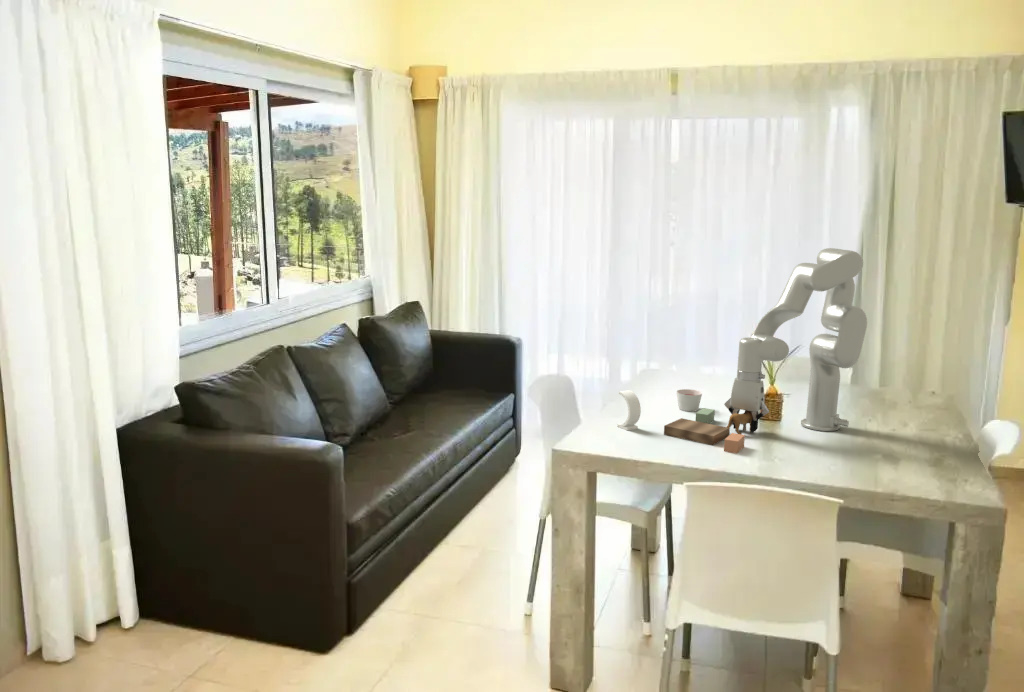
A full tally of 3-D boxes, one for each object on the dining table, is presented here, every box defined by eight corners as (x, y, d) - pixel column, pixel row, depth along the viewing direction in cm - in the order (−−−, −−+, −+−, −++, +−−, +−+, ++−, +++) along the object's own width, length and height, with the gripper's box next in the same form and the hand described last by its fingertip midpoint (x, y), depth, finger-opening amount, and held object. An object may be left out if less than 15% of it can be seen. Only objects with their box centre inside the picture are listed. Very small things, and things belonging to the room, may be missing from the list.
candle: (684, 404, 313) (686, 388, 312) (706, 409, 306) (707, 392, 305) (670, 408, 306) (671, 391, 305) (691, 413, 300) (693, 396, 299)
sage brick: (702, 419, 294) (703, 408, 294) (713, 420, 292) (714, 409, 292) (695, 424, 288) (696, 413, 287) (706, 426, 286) (707, 414, 285)
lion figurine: (747, 427, 285) (747, 401, 284) (760, 430, 281) (761, 403, 280) (721, 434, 275) (722, 407, 274) (735, 437, 271) (736, 410, 270)
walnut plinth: (728, 436, 273) (729, 427, 273) (712, 445, 264) (713, 436, 263) (680, 426, 283) (681, 418, 283) (663, 434, 274) (664, 425, 273)
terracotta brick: (731, 445, 265) (732, 432, 264) (743, 447, 263) (744, 435, 263) (723, 451, 258) (724, 439, 258) (736, 454, 256) (737, 441, 256)
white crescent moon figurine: (627, 424, 284) (629, 390, 282) (639, 429, 280) (641, 393, 277) (617, 426, 282) (618, 391, 280) (629, 431, 277) (630, 395, 275)
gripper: (778, 378, 274) (774, 432, 277) (728, 370, 284) (725, 422, 287) (770, 381, 268) (765, 437, 271) (719, 373, 278) (715, 427, 281)
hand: (744, 429), depth 279 cm, fingers closed on lion figurine, 5 cm apart
